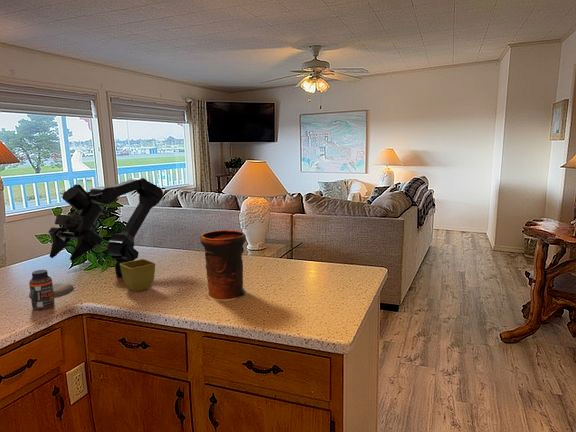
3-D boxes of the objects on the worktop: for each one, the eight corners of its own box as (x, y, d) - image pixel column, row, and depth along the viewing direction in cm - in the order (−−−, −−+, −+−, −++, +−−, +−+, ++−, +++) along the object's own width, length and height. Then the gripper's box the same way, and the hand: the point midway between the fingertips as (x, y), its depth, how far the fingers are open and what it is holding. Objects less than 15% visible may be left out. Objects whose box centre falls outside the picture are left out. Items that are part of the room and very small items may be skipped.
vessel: (198, 289, 137) (196, 231, 133) (239, 283, 142) (238, 227, 139) (207, 304, 124) (205, 240, 120) (252, 298, 129) (251, 236, 126)
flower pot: (146, 282, 145) (144, 258, 143) (157, 288, 139) (155, 263, 137) (121, 289, 139) (119, 263, 137) (132, 295, 133) (130, 268, 131)
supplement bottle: (44, 311, 121) (39, 275, 119) (27, 310, 122) (22, 274, 120) (59, 303, 127) (55, 268, 125) (43, 302, 128) (38, 268, 126)
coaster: (74, 282, 146) (74, 280, 146) (72, 294, 134) (72, 292, 134) (32, 288, 141) (31, 286, 140) (26, 301, 129) (26, 299, 129)
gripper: (50, 202, 135) (21, 243, 127) (90, 205, 127) (62, 248, 119) (73, 221, 143) (48, 260, 135) (113, 225, 135) (88, 266, 128)
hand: (60, 258), depth 129 cm, fingers open, 9 cm apart
